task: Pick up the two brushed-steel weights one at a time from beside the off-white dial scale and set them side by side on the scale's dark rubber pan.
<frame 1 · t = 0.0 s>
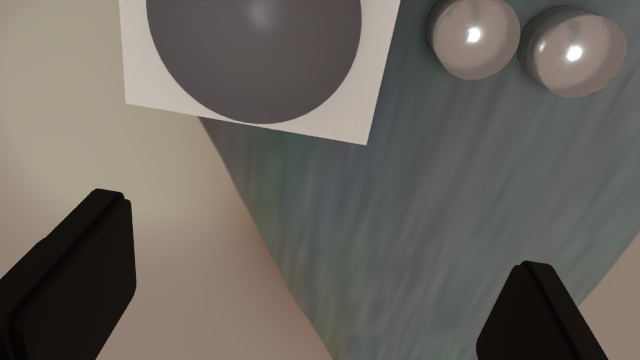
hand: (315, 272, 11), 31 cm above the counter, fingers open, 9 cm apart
steel weight b: (553, 43, 37), on the counter
steel weight a: (461, 26, 37), on the counter
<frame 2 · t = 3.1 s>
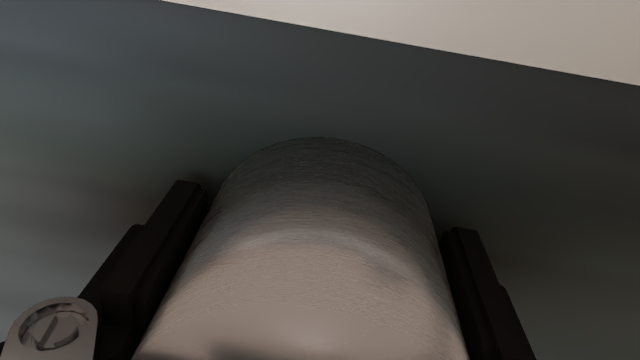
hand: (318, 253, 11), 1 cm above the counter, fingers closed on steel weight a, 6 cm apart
steel weight a: (319, 238, 12), on the counter, touching gripper
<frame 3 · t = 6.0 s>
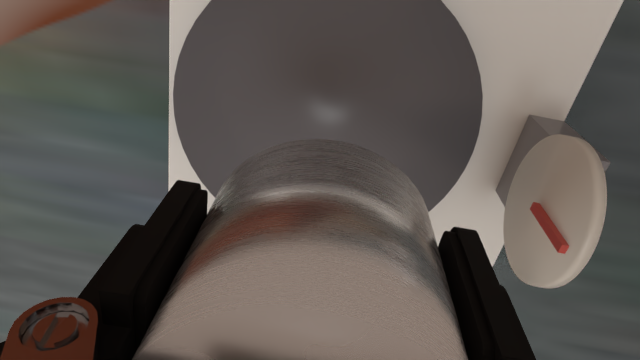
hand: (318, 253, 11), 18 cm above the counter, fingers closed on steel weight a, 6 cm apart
dial scale: (358, 107, 28), on the counter
steel weight a: (319, 239, 12), point 17 cm above the counter, touching gripper
when the fingers open (6 cm above the counter, at t = 8.9 s): steel weight a drops 1 cm, resting on dial scale.
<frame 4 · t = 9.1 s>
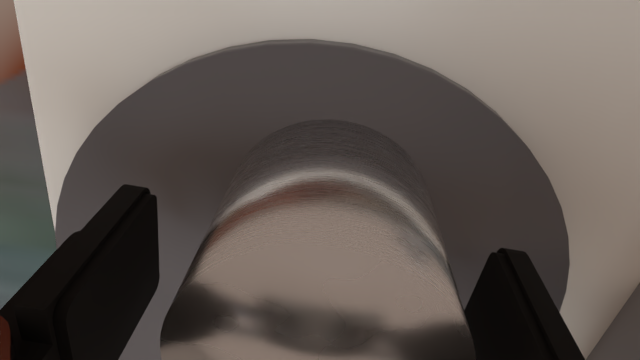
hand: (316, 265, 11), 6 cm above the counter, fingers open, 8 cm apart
dial scale: (360, 240, 18), on the counter
steel weight a: (328, 212, 13), point 4 cm above the counter, touching dial scale
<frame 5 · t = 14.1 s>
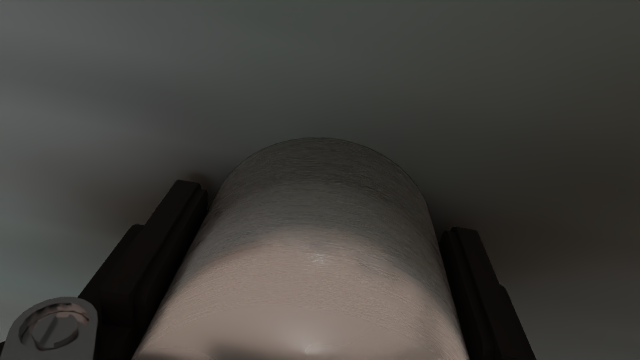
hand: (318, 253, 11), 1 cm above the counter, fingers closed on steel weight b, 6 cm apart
steel weight b: (319, 238, 12), on the counter, touching gripper
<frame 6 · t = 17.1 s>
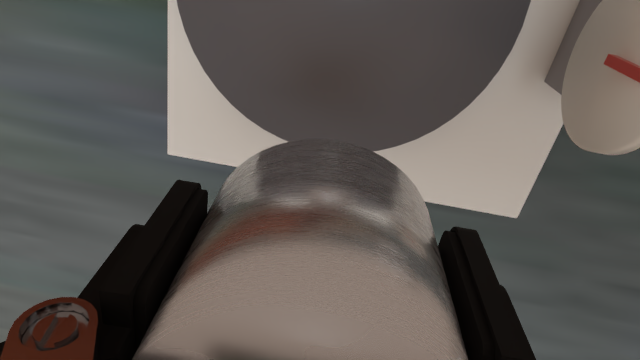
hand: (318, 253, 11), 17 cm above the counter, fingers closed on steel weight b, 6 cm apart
steel weight b: (319, 239, 12), point 17 cm above the counter, touching gripper
when the fingers open (6 cm above the counter, at t = 19.9 s): steel weight b drops 1 cm, resting on dial scale.
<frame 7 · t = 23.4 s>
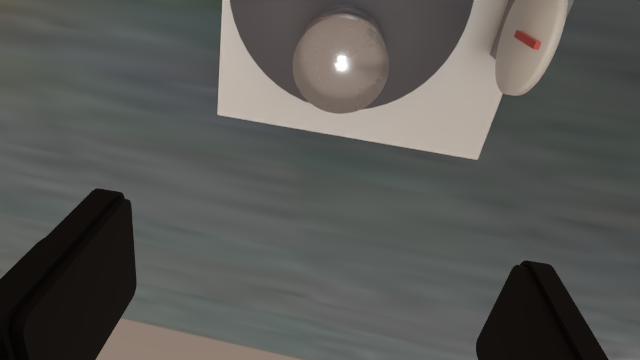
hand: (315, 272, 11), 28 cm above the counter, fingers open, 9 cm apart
steel weight b: (342, 48, 32), point 4 cm above the counter, touching dial scale
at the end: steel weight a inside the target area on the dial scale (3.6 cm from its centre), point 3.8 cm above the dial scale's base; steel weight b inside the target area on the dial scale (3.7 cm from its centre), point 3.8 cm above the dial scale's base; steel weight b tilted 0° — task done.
